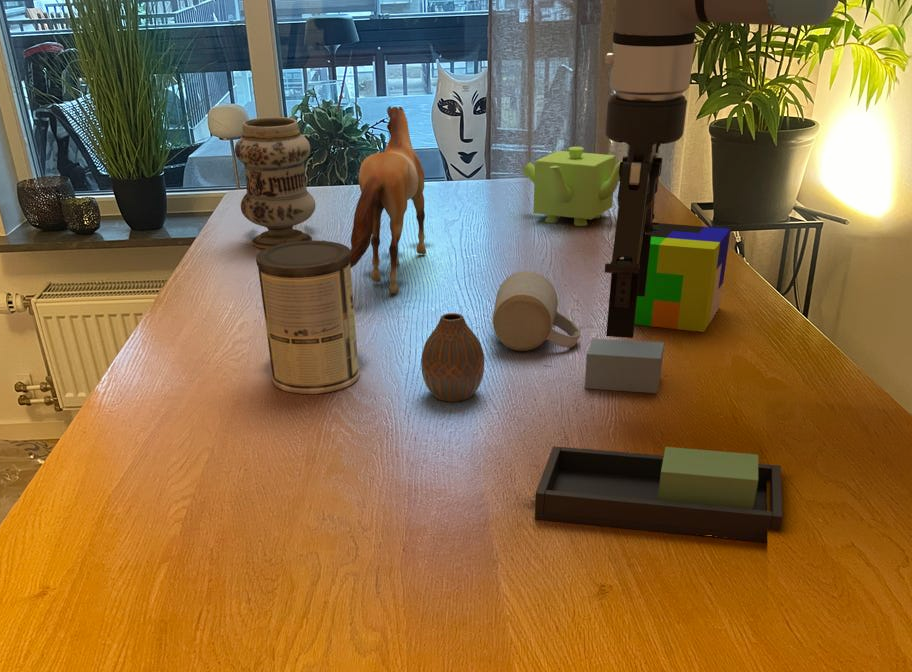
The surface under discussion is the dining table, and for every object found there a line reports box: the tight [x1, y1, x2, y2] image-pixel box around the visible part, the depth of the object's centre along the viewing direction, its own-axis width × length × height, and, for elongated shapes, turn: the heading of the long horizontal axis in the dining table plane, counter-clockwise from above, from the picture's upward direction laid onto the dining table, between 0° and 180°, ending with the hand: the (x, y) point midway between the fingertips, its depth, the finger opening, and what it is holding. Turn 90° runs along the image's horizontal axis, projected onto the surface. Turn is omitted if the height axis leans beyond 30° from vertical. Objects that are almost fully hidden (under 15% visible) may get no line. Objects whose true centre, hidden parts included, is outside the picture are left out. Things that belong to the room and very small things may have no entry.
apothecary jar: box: [234, 116, 317, 250], centre depth 160 cm, size 12×12×18 cm
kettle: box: [521, 146, 622, 227], centre depth 169 cm, size 15×14×11 cm
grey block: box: [584, 338, 665, 394], centre depth 112 cm, size 8×5×4 cm, turn 75°
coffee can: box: [255, 240, 361, 395], centre depth 113 cm, size 10×10×14 cm
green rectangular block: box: [658, 446, 759, 510], centre depth 88 cm, size 8×5×4 cm, turn 75°
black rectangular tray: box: [534, 446, 784, 543], centre depth 89 cm, size 21×10×3 cm, turn 75°
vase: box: [420, 312, 485, 403], centre depth 109 cm, size 7×7×9 cm
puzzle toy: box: [634, 222, 731, 333], centre depth 128 cm, size 10×10×10 cm
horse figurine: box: [350, 106, 427, 295], centre depth 143 cm, size 31×8×21 cm, turn 167°
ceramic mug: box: [492, 270, 581, 352], centre depth 122 cm, size 11×8×8 cm
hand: (626, 314), depth 109 cm, fingers open, 13 cm apart
